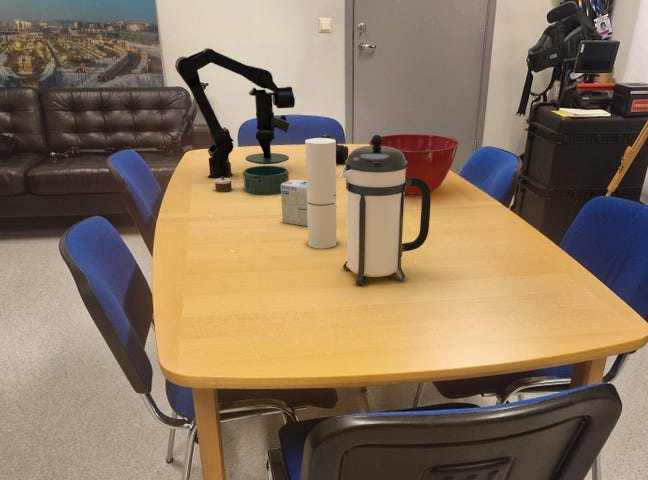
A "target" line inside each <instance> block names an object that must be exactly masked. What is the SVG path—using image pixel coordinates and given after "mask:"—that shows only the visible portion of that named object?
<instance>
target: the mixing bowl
mask: <svg viewBox="0 0 648 480" xmlns="http://www.w3.org/2000/svg"><path fill="white" fill-rule="evenodd" d="M381 137H382V140H383V141H382V144H381V145H380V146H387V147H392V148H396V149H398V150H400V151H401V152H402V153H403V154H404V156H405V159H406V160H407V161H408V166H407V168H406V171H405V178H410V177H416V178H419V179H422V180H423V181H425V182H426V184H427V185H428V187H429V190H430V194H432V193H433V192H434V191H436V190H437V189H438V188H439V187H441V185H443V182H444V181H445V179H446V177H447V176H448V174H449V171H450V169H451V167H452V165H453V162H454V159H455V156H456V154H457V151H458V147H459V145H460V141H459V140H457V139H456V138H453V137H449V136H444V135H435V134H422V133H421V134H419V133H408V134H407V133H406V134H405V133H403V134H391V135H390V134H389V135H381ZM371 140H372V139H370V140H369V142H368V145H369V146H374V145H373V144H372V141H371ZM404 196H411V197H412V196H413V197H414V196H422V194H421V191H420V189H419V188H418V187H417V186H406V189H405V191H404Z"/></svg>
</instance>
